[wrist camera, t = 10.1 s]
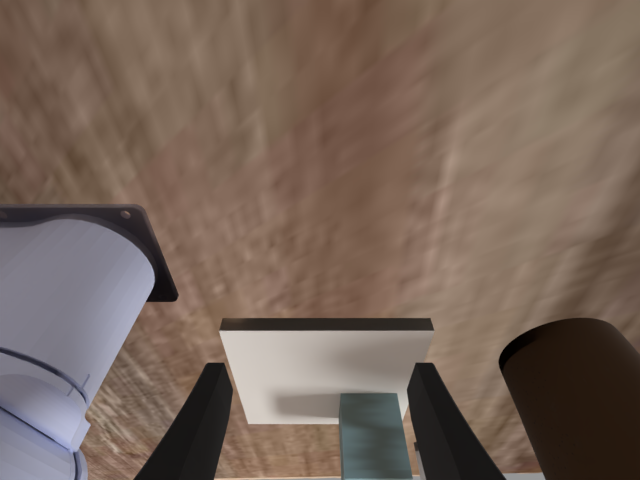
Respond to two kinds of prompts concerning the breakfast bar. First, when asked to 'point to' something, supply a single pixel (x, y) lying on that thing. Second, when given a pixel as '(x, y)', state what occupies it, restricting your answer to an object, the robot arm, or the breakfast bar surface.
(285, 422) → the base board
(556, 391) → the olive oil
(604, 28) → the breakfast bar surface
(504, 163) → the breakfast bar surface
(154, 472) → the robot arm
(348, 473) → the teal brushed cube
